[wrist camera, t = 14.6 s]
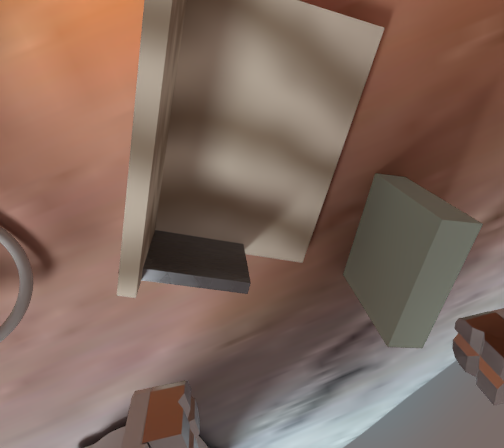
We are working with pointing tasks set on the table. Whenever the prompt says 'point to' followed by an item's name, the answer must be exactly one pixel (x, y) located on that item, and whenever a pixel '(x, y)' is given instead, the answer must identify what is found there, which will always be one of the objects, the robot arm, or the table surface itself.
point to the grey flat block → (407, 258)
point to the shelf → (235, 135)
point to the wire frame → (25, 283)
